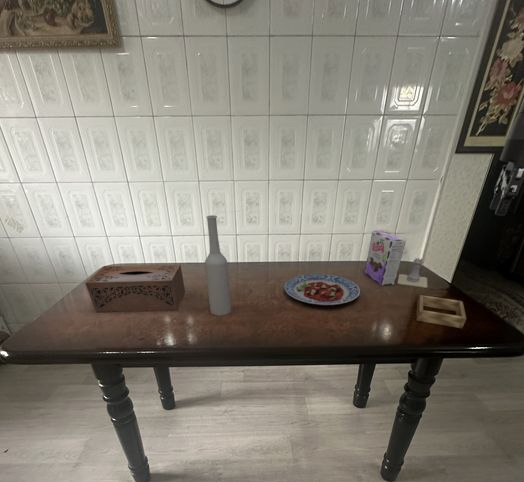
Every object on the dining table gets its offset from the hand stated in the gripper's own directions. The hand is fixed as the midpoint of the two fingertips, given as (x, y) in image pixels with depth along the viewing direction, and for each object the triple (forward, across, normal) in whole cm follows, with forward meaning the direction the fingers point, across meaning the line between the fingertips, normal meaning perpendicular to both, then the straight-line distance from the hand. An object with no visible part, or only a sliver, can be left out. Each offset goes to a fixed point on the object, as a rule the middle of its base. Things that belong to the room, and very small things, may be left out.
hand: (496, 212), depth 79 cm
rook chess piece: (+28, +18, +14) cm, 36 cm away
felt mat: (+28, +18, +14) cm, 36 cm away
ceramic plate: (+28, -6, +43) cm, 52 cm away
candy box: (+28, +16, +26) cm, 42 cm away
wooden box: (+28, -8, +6) cm, 30 cm away
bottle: (+28, -31, +69) cm, 81 cm away
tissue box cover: (+28, -35, +97) cm, 107 cm away
